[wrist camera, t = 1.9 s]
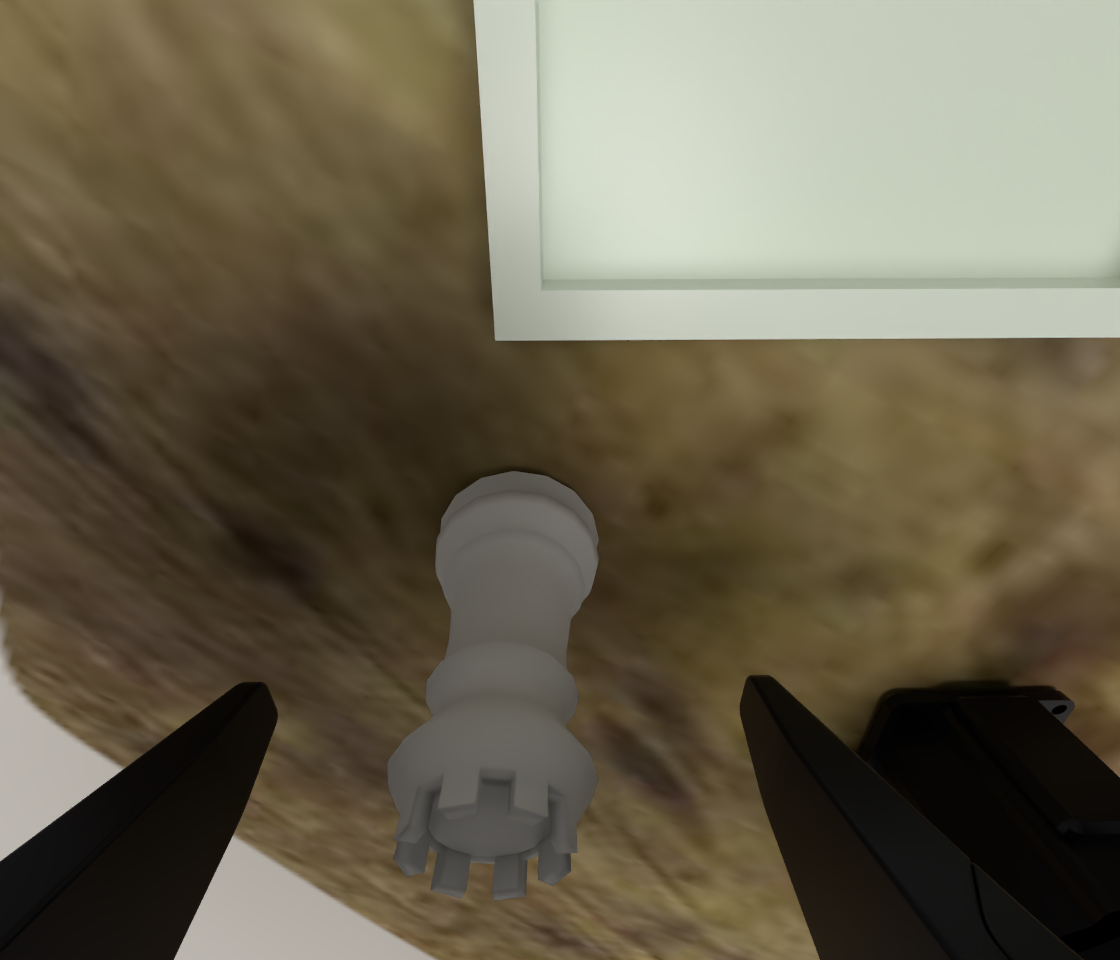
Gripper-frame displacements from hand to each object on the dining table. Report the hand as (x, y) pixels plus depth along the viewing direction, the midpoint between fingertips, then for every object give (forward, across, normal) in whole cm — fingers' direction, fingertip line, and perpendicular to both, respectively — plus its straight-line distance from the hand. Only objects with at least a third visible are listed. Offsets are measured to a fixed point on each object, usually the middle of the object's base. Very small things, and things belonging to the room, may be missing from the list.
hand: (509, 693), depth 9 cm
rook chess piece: (+6, 0, 0) cm, 6 cm away
